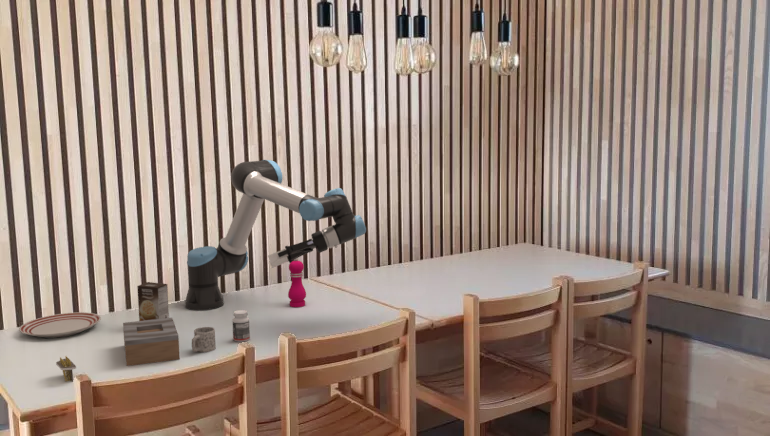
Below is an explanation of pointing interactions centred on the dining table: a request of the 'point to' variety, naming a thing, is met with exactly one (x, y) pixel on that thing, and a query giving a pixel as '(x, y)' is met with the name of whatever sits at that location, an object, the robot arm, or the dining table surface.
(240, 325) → the pill bottle
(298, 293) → the pepper mill
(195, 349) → the mug
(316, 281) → the dining table surface
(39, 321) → the dinner plate
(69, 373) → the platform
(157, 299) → the coffee box
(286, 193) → the robot arm
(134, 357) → the tissue box
